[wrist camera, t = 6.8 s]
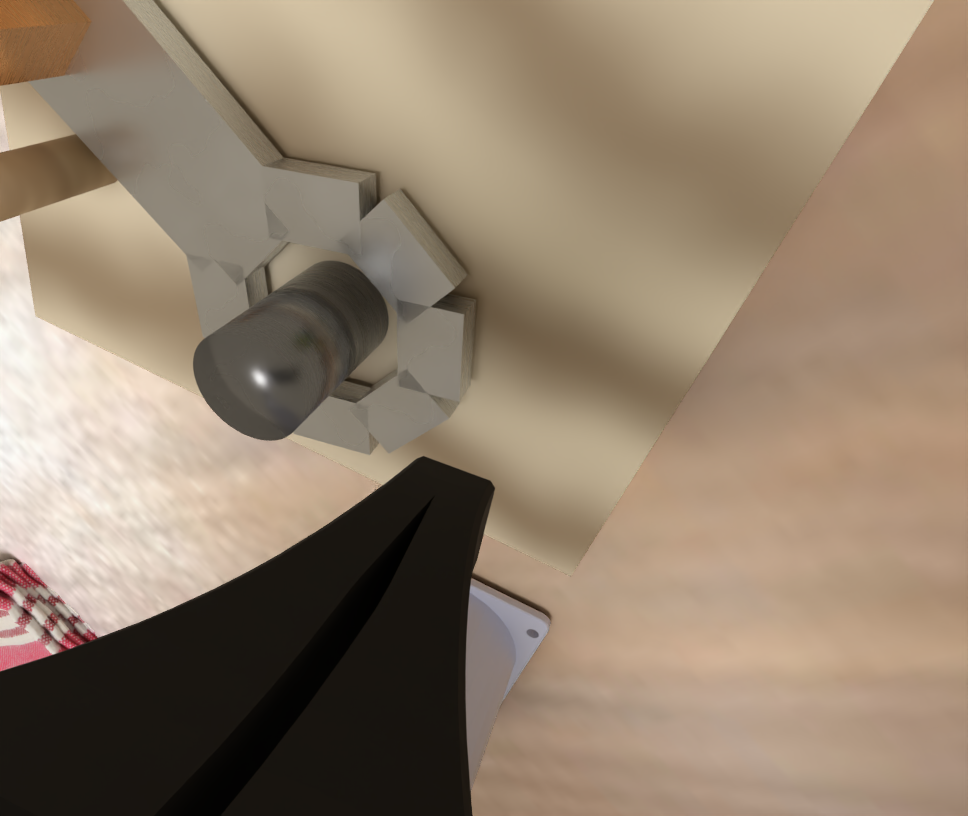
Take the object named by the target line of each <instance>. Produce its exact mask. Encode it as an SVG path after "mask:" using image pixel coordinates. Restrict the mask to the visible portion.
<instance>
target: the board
mask: <svg viewBox="0 0 968 816" xmlns="http://www.w3.org/2000/svg"><path fill="white" fill-rule="evenodd" d="M153 1H154V2H155V3H156V5H157V6H158V7H159V8H160V9H161V11H162V12H163V13H164V14H165V15H166V17H167V18H168V19H169V20H170V21H171V23H172V24H173V25H174V26H175V27H176V29H177V30H178V31H179V32H180V34H181V35H182V36H183V37H184V38H185V40H186V41H187V42H188V43H189V44H190V46H191V47H192V48H193V49H194V50H195V52H196V53H197V54H198V55H199V56H200V58H201V59H202V60H203V61H204V62H205V64H206V65H207V66H208V67H209V68H210V70H211V71H212V72H213V73H214V75H215V76H216V77H217V78H218V79H219V81H220V82H221V83H222V84H223V85H224V87H225V88H226V89H227V90H228V91H229V93H230V94H231V95H232V96H233V97H234V99H235V100H236V101H237V102H238V103H239V105H240V106H241V107H242V108H243V109H244V111H245V112H246V113H247V114H248V115H249V117H250V118H251V119H252V120H253V122H254V123H255V124H256V125H257V126H258V128H259V129H260V130H261V131H262V132H263V134H264V135H265V136H266V137H267V138H268V140H269V141H270V142H271V143H272V144H273V146H274V147H275V148H276V149H277V150H278V152H279V153H280V154H281V155H282V156H283V158H289V159H295V160H301V161H307V162H312V163H318V164H324V165H330V166H336V167H341V168H347V169H353V170H359V171H365V172H370V173H376V195H377V205H378V204H379V203H380V202H381V201H382V200H383V199H385V198H386V197H388V196H389V195H391V194H392V193H394V192H396V191H397V190H399V189H401V190H402V192H403V193H404V194H405V196H406V197H407V198H408V199H409V201H410V202H411V203H412V204H413V206H414V207H415V208H416V210H417V211H418V212H419V213H420V215H421V216H422V217H423V218H424V220H425V221H426V222H427V223H428V225H429V226H430V227H431V229H432V230H433V231H434V232H435V234H436V235H437V236H438V237H439V239H440V240H441V241H442V242H443V244H444V245H445V246H446V248H447V249H448V250H449V251H450V253H451V254H452V255H453V256H454V258H455V259H456V260H457V261H458V263H459V264H460V265H461V267H462V268H463V269H464V270H465V272H466V273H467V274H468V275H467V276H466V277H465V278H464V279H463V280H462V281H461V282H460V283H459V285H458V286H457V287H456V288H455V289H453V290H452V291H451V292H449V293H448V294H452V295H456V296H461V297H466V298H471V299H475V300H476V310H475V326H474V341H473V356H472V371H471V385H470V387H469V388H468V390H467V391H466V393H465V394H464V396H463V397H462V398H461V400H460V401H461V402H460V403H459V405H458V406H457V408H456V409H455V411H454V412H453V414H452V415H451V417H450V418H449V419H448V420H446V421H444V422H443V423H441V424H439V425H437V426H436V427H434V428H432V429H431V430H429V431H427V432H425V433H424V434H422V435H420V436H419V437H417V438H415V439H413V440H412V441H410V442H408V443H407V444H405V445H403V446H401V447H400V448H398V449H396V450H395V451H393V452H391V453H388V452H387V451H386V450H385V449H384V448H383V447H382V446H381V444H380V443H379V444H378V446H377V447H376V448H375V449H374V451H373V452H372V453H371V454H370V455H367V454H364V453H360V452H356V451H353V450H349V449H346V448H342V447H339V446H335V445H332V444H328V443H324V442H321V441H317V440H314V439H310V438H307V437H303V436H299V435H296V434H294V432H293V433H292V434H290V435H289V436H287V437H285V438H287V439H289V440H291V441H293V442H295V443H297V444H299V445H301V446H303V447H305V448H308V449H310V450H312V451H314V452H316V453H318V454H320V455H322V456H324V457H326V458H328V459H330V460H332V461H334V462H336V463H338V464H340V465H342V466H344V467H347V468H349V469H351V470H353V471H355V472H357V473H359V474H361V475H363V476H365V477H367V478H369V479H371V480H373V481H375V482H377V483H379V484H381V485H384V484H385V483H386V482H388V481H389V480H390V479H392V478H393V477H394V476H395V475H397V474H398V473H399V472H401V471H402V470H403V469H404V468H406V467H407V466H408V465H409V464H410V463H412V462H413V461H414V460H415V459H417V458H419V457H422V456H425V457H428V458H431V459H433V460H436V461H439V462H441V463H444V464H447V465H450V466H452V467H455V468H458V469H460V470H463V471H466V472H468V473H471V474H474V475H477V476H479V477H482V478H485V479H487V480H490V481H491V482H492V484H493V485H494V487H495V491H494V495H493V499H492V503H491V507H490V511H489V515H488V519H487V522H486V526H485V530H484V535H486V536H488V537H490V538H492V539H494V540H496V541H499V542H501V543H503V544H505V545H507V546H509V547H511V548H513V549H515V550H517V551H519V552H521V553H523V554H525V555H527V556H529V557H531V558H533V559H535V560H538V561H540V562H542V563H544V564H546V565H548V566H550V567H552V568H554V569H556V570H558V571H560V572H562V573H564V574H566V575H568V576H570V577H571V575H572V574H573V572H574V571H575V569H576V568H577V566H578V564H579V563H580V561H581V560H582V558H583V556H584V555H585V553H586V552H587V550H588V549H589V547H590V545H591V544H592V542H593V541H594V539H595V537H596V536H597V534H598V533H599V531H600V529H601V528H602V526H603V525H604V523H605V522H606V520H607V518H608V517H609V515H610V514H611V512H612V510H613V509H614V507H615V506H616V504H617V503H618V501H619V499H620V498H621V496H622V495H623V493H624V491H625V490H626V488H627V487H628V485H629V483H630V482H631V480H632V479H633V477H634V476H635V474H636V472H637V471H638V469H639V468H640V466H641V464H642V463H643V461H644V460H645V458H646V456H647V455H648V453H649V452H650V450H651V449H652V447H653V445H654V444H655V442H656V441H657V439H658V437H659V436H660V434H661V433H662V431H663V430H664V428H665V426H666V425H667V423H668V422H669V420H670V418H671V417H672V415H673V414H674V412H675V410H676V409H677V407H678V406H679V404H680V403H681V401H682V399H683V398H684V396H685V395H686V393H687V391H688V390H689V388H690V387H691V385H692V384H693V382H694V380H695V379H696V377H697V376H698V374H699V372H700V371H701V369H702V368H703V366H704V364H705V363H706V361H707V360H708V358H709V357H710V355H711V353H712V352H713V350H714V349H715V347H716V345H717V344H718V342H719V341H720V339H721V338H722V336H723V334H724V333H725V331H726V330H727V328H728V326H729V325H730V323H731V322H732V320H733V318H734V317H735V315H736V314H737V312H738V311H739V309H740V307H741V306H742V304H743V303H744V301H745V299H746V298H747V296H748V295H749V293H750V291H751V290H752V288H753V287H754V285H755V284H756V282H757V280H758V279H759V277H760V276H761V274H762V272H763V271H764V269H765V268H766V266H767V265H768V263H769V261H770V260H771V258H772V257H773V255H774V253H775V252H776V250H777V249H778V247H779V245H780V244H781V242H782V241H783V239H784V238H785V236H786V234H787V233H788V231H789V230H790V228H791V226H792V225H793V223H794V222H795V220H796V219H797V217H798V215H799V214H800V212H801V211H802V209H803V207H804V206H805V204H806V203H807V201H808V199H809V198H810V196H811V195H812V193H813V192H814V190H815V188H816V187H817V185H818V184H819V182H820V180H821V179H822V177H823V176H824V174H825V172H826V171H827V169H828V168H829V166H830V165H831V163H832V161H833V160H834V158H835V157H836V155H837V153H838V152H839V150H840V149H841V147H842V146H843V144H844V142H845V141H846V139H847V138H848V136H849V134H850V133H851V131H852V130H853V128H854V126H855V125H856V123H857V122H858V120H859V119H860V117H861V115H862V114H863V112H864V111H865V109H866V107H867V106H868V104H869V103H870V101H871V100H872V98H873V96H874V95H875V93H876V92H877V90H878V88H879V87H880V85H881V84H882V82H883V80H884V79H885V77H886V76H887V74H888V73H889V71H890V69H891V68H892V66H893V65H894V63H895V61H896V60H897V58H898V57H899V55H900V54H901V52H902V50H903V49H904V47H905V46H906V44H907V42H908V41H909V39H910V38H911V36H912V34H913V33H914V31H915V30H916V28H917V27H918V25H919V23H920V22H921V20H922V19H923V17H924V15H925V14H926V12H927V11H928V9H929V7H930V6H931V4H932V3H933V1H934V0H153ZM0 92H1V98H2V105H3V111H4V118H5V124H6V130H7V137H8V143H9V149H10V150H13V149H17V148H21V147H25V146H29V145H34V144H38V143H42V142H46V141H50V140H54V139H58V138H62V137H66V136H70V135H74V134H75V133H74V132H73V130H72V129H71V128H70V127H69V126H68V125H67V124H66V123H65V122H64V121H63V119H62V118H61V117H60V116H59V115H58V114H57V113H56V112H55V111H54V110H53V109H52V107H51V106H50V105H49V104H48V103H47V102H46V101H45V100H44V99H43V98H42V96H41V95H40V94H39V93H38V92H37V91H36V90H35V89H34V88H33V87H32V85H31V84H30V83H29V82H28V81H27V82H21V83H15V84H9V85H2V86H0ZM20 220H21V226H22V232H23V239H24V245H25V252H26V258H27V264H28V271H29V277H30V283H31V290H32V296H33V303H34V309H35V315H36V317H38V318H41V319H43V320H45V321H47V322H49V323H51V324H53V325H55V326H57V327H59V328H61V329H63V330H65V331H67V332H69V333H71V334H73V335H75V336H78V337H80V338H82V339H84V340H86V341H88V342H90V343H92V344H94V345H96V346H98V347H100V348H102V349H104V350H106V351H108V352H110V353H112V354H114V355H117V356H119V357H121V358H123V359H125V360H127V361H129V362H131V363H133V364H135V365H137V366H139V367H141V368H143V369H145V370H147V371H149V372H151V373H153V374H156V375H158V376H160V377H162V378H164V379H166V380H168V381H170V382H172V383H174V384H176V385H178V386H180V387H182V388H184V389H186V390H188V391H190V392H193V393H195V394H197V395H199V396H201V397H203V396H202V394H201V392H200V390H199V388H198V386H197V383H196V380H195V377H194V371H193V357H194V353H195V350H196V348H197V346H198V345H199V343H200V342H201V341H202V340H203V339H204V337H203V335H202V330H201V325H200V320H199V315H198V310H197V305H196V300H195V295H194V290H193V285H192V281H191V276H190V271H189V266H188V261H187V256H186V254H185V253H184V252H183V251H182V250H181V249H180V248H179V247H178V246H177V245H176V243H175V242H174V241H173V240H172V239H171V238H170V237H169V236H168V235H167V234H166V232H165V231H164V230H163V229H162V228H161V227H160V226H159V225H158V224H157V223H156V221H155V220H154V219H153V218H152V217H151V216H150V215H149V214H148V213H147V212H146V211H145V209H144V208H143V207H142V206H141V205H140V204H139V203H138V202H137V201H136V200H135V198H134V197H133V196H132V195H131V194H130V193H129V192H128V191H127V190H126V189H125V187H124V186H123V185H122V184H121V183H120V182H119V181H116V182H115V183H113V184H110V185H107V186H104V187H101V188H98V189H95V190H92V191H89V192H86V193H83V194H80V195H77V196H74V197H71V198H68V199H65V200H63V201H60V202H57V203H54V204H51V205H48V206H45V207H42V208H39V209H36V210H33V211H30V212H27V213H24V214H21V215H20ZM322 261H340V262H344V263H346V264H349V265H351V266H353V267H355V268H357V269H359V270H360V271H361V269H360V268H359V267H358V266H357V265H356V263H355V262H354V261H353V260H352V259H351V257H350V256H349V255H348V254H344V253H339V252H335V251H330V250H325V249H320V248H315V247H310V246H305V245H300V244H296V243H291V242H288V243H287V244H286V245H285V246H284V247H283V248H282V249H281V250H280V251H279V252H278V254H277V255H276V256H275V257H274V258H273V259H272V260H271V261H270V262H269V263H268V264H267V265H266V266H265V267H264V269H265V277H266V284H267V292H268V295H269V294H271V293H272V292H274V291H275V290H277V289H278V288H280V287H281V286H283V285H284V284H286V283H287V282H288V281H290V280H291V279H293V278H294V277H296V276H297V275H299V274H300V273H302V272H303V271H305V270H306V269H308V268H309V267H311V266H312V265H314V264H316V263H319V262H322ZM361 272H362V271H361ZM383 298H384V297H383ZM384 301H385V303H386V306H387V310H388V317H389V324H388V330H387V333H386V336H385V338H384V340H383V341H382V343H381V344H380V345H379V346H378V347H377V348H376V349H375V350H374V351H373V352H372V353H371V354H370V355H369V356H368V357H367V358H366V359H365V360H364V361H363V362H362V363H361V364H360V365H359V366H358V367H357V368H356V369H355V370H354V371H353V372H352V373H351V374H350V375H349V376H348V377H347V378H346V379H345V380H344V381H347V382H351V383H355V384H358V385H362V386H366V387H372V386H373V385H375V384H376V383H378V382H379V381H381V380H382V379H383V378H385V377H386V376H388V375H389V374H391V373H392V372H394V371H395V370H396V369H398V361H397V312H396V311H395V310H394V309H393V308H392V306H391V305H390V304H389V303H388V302H387V300H386V299H385V298H384ZM203 398H204V397H203Z"/></svg>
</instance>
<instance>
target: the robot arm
mask: <svg viewBox="0 0 968 816" xmlns="http://www.w3.org/2000/svg"><path fill="white" fill-rule="evenodd" d="M494 491H495V487H494V485H493V484H492V482H491V481H490V480H487V479H485V478H482V477H479V476H477V475H474V474H471V473H468V472H466V471H463V470H460V469H458V468H455V467H452V466H450V465H447V464H444V463H441V462H439V461H436V460H433V459H431V458H428V457H425V456H422V457H419V458H417V459H415V460H414V461H413V462H412V463H410V464H409V465H408V466H407V467H406V468H404V469H403V470H402V471H401V472H399V473H398V474H397V475H395V476H394V477H393V478H392V479H390V480H389V481H388V482H386V483H385V484H384V485H383V486H381V487H380V488H378V489H377V490H376V491H374V492H373V493H372V494H370V495H369V496H368V497H366V498H365V499H364V500H362V501H361V502H359V503H358V504H356V505H355V506H354V507H352V508H351V509H349V510H348V511H346V512H345V513H343V514H342V515H340V516H339V517H338V518H336V519H335V520H333V521H332V522H330V523H329V524H327V525H326V526H324V527H323V528H321V529H320V530H318V531H316V532H315V533H313V534H312V535H310V536H308V537H307V538H305V539H303V540H302V541H300V542H298V543H297V544H295V545H294V546H292V547H290V548H289V549H287V550H285V551H284V552H282V553H281V554H279V555H277V556H275V557H274V558H272V559H270V560H268V561H267V562H265V563H263V564H261V565H259V566H258V567H256V568H254V569H252V570H250V571H248V572H246V573H245V574H243V575H241V576H239V577H237V578H235V579H233V580H231V581H229V582H227V583H225V584H223V585H221V586H219V587H217V588H215V589H213V590H211V591H209V592H207V593H204V594H202V595H200V596H198V597H196V598H194V599H191V600H189V601H187V602H185V603H183V604H181V605H178V606H176V607H174V608H172V609H170V610H167V611H165V612H163V613H160V614H158V615H156V616H153V617H151V618H149V619H146V620H144V621H141V622H139V623H136V624H134V625H131V626H128V627H126V628H123V629H121V630H118V631H115V632H113V633H110V634H107V635H105V636H102V637H99V638H97V639H94V640H91V641H89V642H86V643H84V644H81V645H78V646H76V647H73V648H70V649H68V650H65V651H62V652H59V653H56V654H53V655H50V656H47V657H44V658H41V659H38V660H34V661H31V662H28V663H25V664H22V665H18V666H15V667H12V668H9V669H6V670H2V671H0V816H472V806H471V790H472V787H473V784H474V781H475V778H476V775H477V772H478V769H479V766H480V763H481V760H482V758H483V755H484V752H485V749H486V746H487V743H488V740H489V737H490V734H491V731H492V729H493V726H494V723H495V720H496V717H497V714H498V711H499V708H500V705H501V703H502V702H503V700H504V699H505V697H506V696H507V694H508V693H509V691H510V690H511V688H512V686H513V685H514V683H515V682H516V680H517V679H518V677H519V676H520V674H521V673H522V671H523V670H524V668H525V667H526V665H527V663H528V662H529V660H530V659H531V657H532V656H533V654H534V653H535V651H536V650H537V648H538V647H539V645H540V644H541V642H542V640H543V639H544V637H545V636H546V634H547V633H548V631H549V628H550V624H551V622H550V619H549V618H548V617H547V616H546V615H545V614H543V613H541V612H539V611H537V610H535V609H533V608H531V607H529V606H527V605H525V604H523V603H521V602H519V601H517V600H515V599H513V598H511V597H509V596H507V595H505V594H503V593H501V592H499V591H497V590H495V589H493V588H491V587H489V586H487V585H485V584H483V583H481V582H479V581H477V580H475V579H473V578H471V577H472V571H473V569H474V566H475V563H476V561H477V558H478V554H479V550H480V546H481V542H482V538H483V534H484V530H485V526H486V522H487V519H488V515H489V511H490V507H491V503H492V499H493V495H494Z"/></svg>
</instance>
